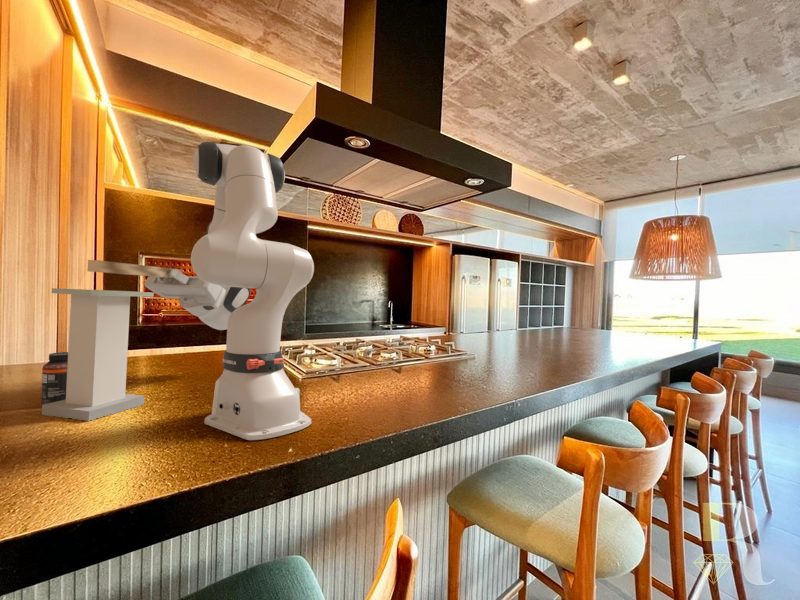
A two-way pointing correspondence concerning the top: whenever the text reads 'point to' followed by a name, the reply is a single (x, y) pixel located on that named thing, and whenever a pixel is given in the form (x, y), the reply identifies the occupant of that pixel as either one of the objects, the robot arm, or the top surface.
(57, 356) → the supplement bottle
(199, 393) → the top surface
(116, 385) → the stand
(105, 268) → the baton
